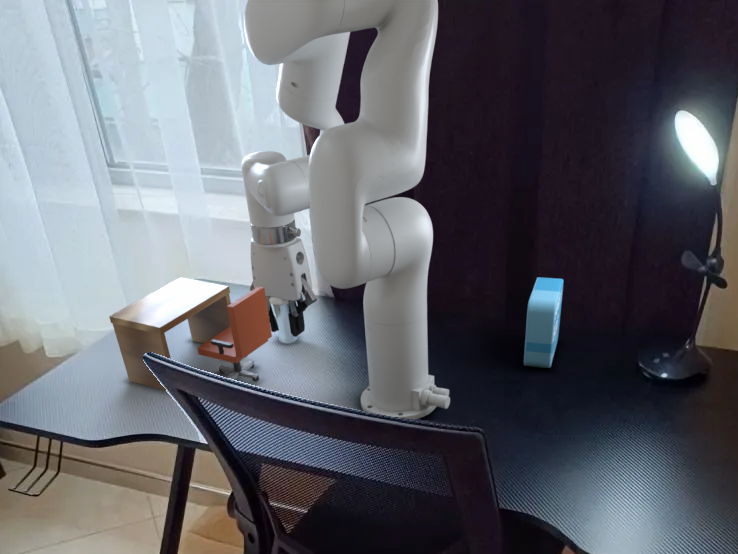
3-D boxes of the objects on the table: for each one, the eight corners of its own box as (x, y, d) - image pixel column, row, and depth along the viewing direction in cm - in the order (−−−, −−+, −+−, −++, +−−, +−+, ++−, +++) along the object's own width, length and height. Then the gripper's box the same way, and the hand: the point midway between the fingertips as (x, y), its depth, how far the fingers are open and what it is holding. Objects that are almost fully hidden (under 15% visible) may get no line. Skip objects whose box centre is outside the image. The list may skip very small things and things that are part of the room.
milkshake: (303, 332, 149) (296, 281, 142) (298, 345, 144) (290, 293, 138) (280, 332, 149) (271, 281, 143) (274, 345, 145) (265, 293, 139)
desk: (240, 349, 144) (229, 286, 137) (176, 393, 132) (159, 327, 125) (194, 338, 149) (180, 276, 141) (128, 381, 137) (108, 316, 129)
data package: (549, 371, 133) (555, 304, 125) (523, 369, 134) (527, 302, 127) (558, 340, 142) (564, 275, 134) (533, 338, 143) (538, 274, 135)
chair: (279, 371, 137) (265, 286, 127) (247, 395, 131) (231, 308, 121) (236, 361, 141) (220, 277, 131) (203, 384, 134) (184, 298, 125)
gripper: (326, 230, 133) (336, 331, 145) (247, 219, 140) (263, 315, 151) (302, 245, 128) (314, 348, 140) (221, 232, 135) (240, 331, 146)
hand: (288, 330), depth 146 cm, fingers closed on milkshake, 4 cm apart
